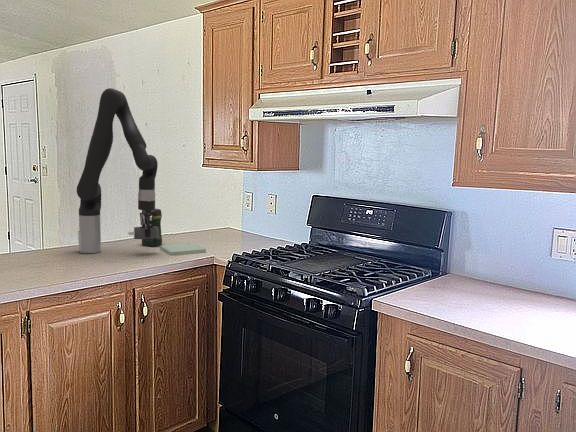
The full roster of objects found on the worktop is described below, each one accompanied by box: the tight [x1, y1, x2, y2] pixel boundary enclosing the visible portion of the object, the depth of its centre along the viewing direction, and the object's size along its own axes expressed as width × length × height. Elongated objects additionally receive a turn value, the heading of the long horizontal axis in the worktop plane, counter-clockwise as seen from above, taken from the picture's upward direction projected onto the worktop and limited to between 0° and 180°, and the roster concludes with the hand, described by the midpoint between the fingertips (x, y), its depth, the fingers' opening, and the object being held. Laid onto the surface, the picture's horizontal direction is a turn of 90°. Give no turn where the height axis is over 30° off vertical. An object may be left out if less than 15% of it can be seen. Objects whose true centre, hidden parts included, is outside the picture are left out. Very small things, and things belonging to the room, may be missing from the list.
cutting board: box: [159, 242, 207, 257], centre depth 250 cm, size 17×16×2 cm
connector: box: [127, 226, 158, 240], centre depth 239 cm, size 13×4×5 cm, turn 121°
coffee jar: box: [141, 208, 163, 247], centre depth 260 cm, size 10×8×19 cm
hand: (146, 236), depth 240 cm, fingers closed on connector, 4 cm apart
